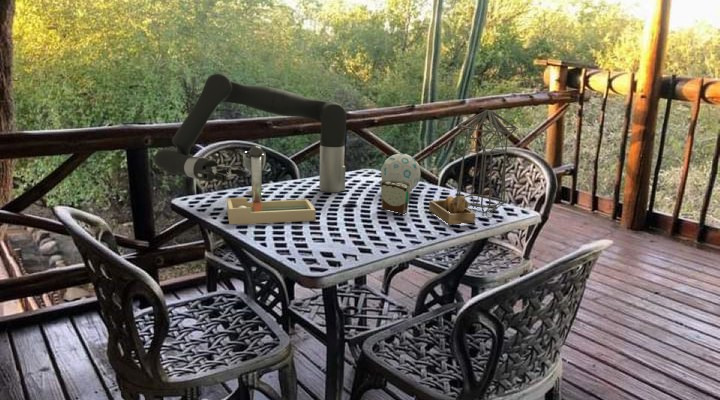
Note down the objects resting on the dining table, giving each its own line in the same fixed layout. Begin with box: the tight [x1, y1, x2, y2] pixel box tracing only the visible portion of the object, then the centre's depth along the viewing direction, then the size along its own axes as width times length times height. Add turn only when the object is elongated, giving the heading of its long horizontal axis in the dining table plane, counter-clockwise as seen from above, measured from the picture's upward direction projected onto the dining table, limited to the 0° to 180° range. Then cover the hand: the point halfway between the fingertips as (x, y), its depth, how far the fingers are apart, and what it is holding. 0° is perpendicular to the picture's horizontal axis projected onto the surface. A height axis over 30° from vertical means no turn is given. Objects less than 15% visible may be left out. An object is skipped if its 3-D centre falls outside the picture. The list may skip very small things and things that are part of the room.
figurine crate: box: [428, 199, 476, 225], centre depth 190 cm, size 9×17×4 cm, turn 16°
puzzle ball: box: [380, 153, 422, 190], centre depth 220 cm, size 15×15×15 cm
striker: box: [249, 145, 264, 212], centre depth 182 cm, size 4×5×21 cm
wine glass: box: [242, 150, 267, 196], centre depth 213 cm, size 8×8×15 cm
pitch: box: [226, 197, 316, 225], centre depth 185 cm, size 26×13×5 cm, turn 106°
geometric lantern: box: [455, 109, 519, 217], centre depth 192 cm, size 16×16×35 cm
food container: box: [379, 179, 413, 215], centre depth 196 cm, size 12×6×10 cm, turn 47°
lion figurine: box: [445, 195, 471, 214], centre depth 189 cm, size 15×5×9 cm, turn 19°
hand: (235, 175), depth 186 cm, fingers open, 8 cm apart
